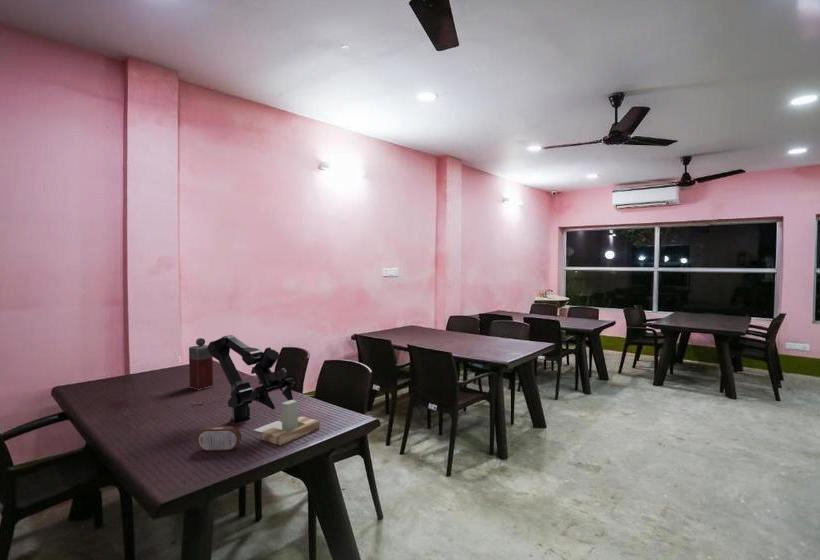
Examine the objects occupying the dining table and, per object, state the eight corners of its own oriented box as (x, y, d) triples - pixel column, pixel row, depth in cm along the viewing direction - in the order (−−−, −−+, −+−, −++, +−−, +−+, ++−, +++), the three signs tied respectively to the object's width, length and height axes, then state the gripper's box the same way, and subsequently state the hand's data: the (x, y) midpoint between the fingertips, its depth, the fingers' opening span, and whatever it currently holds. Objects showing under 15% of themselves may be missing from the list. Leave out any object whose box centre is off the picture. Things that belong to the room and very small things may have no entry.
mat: (253, 430, 167) (253, 429, 167) (277, 421, 178) (277, 420, 178) (269, 435, 162) (269, 434, 162) (293, 426, 172) (293, 425, 172)
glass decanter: (202, 383, 241) (201, 336, 241) (213, 386, 235) (212, 337, 234) (187, 387, 234) (186, 338, 233) (197, 390, 227) (196, 339, 227)
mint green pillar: (276, 434, 163) (275, 403, 163) (291, 428, 170) (291, 398, 170) (288, 438, 159) (287, 406, 159) (303, 431, 166) (303, 400, 166)
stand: (262, 439, 158) (262, 431, 158) (301, 423, 175) (301, 416, 175) (280, 445, 153) (280, 437, 153) (319, 428, 170) (319, 420, 169)
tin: (241, 447, 151) (241, 424, 151) (238, 451, 148) (238, 428, 148) (200, 448, 151) (199, 425, 151) (196, 452, 148) (195, 429, 148)
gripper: (254, 367, 161) (273, 399, 155) (291, 358, 177) (310, 387, 171) (242, 385, 165) (260, 417, 160) (279, 375, 181) (297, 403, 175)
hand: (283, 405), depth 166 cm, fingers open, 9 cm apart
